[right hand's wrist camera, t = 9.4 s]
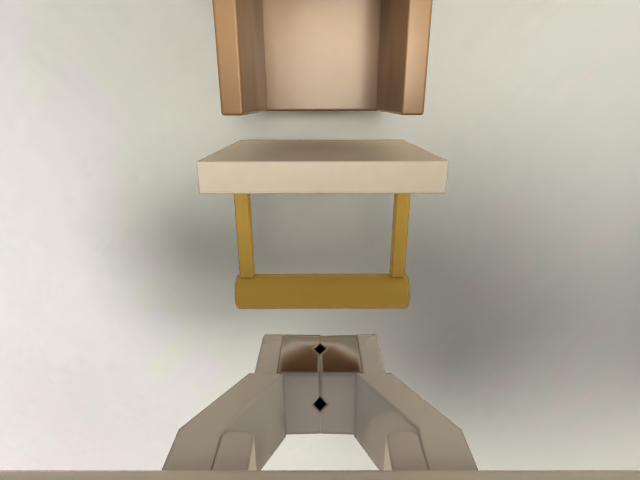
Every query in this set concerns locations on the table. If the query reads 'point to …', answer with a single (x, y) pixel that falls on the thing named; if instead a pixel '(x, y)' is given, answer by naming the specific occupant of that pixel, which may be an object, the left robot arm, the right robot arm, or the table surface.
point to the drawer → (322, 155)
